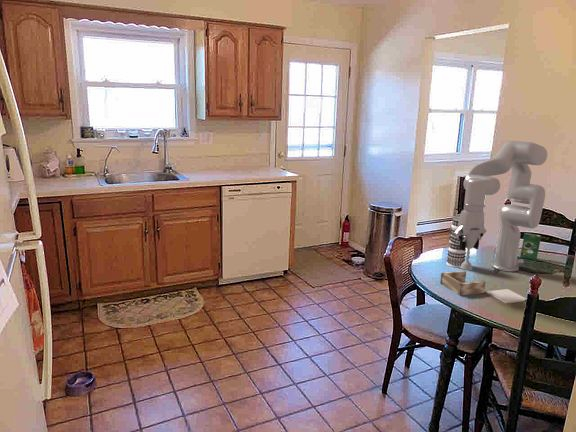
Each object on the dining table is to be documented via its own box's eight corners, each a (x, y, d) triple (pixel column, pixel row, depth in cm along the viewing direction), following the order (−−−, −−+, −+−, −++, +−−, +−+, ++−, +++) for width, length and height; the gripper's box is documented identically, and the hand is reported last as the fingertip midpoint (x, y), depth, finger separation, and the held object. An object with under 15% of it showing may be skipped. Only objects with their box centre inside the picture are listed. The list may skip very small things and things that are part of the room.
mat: (507, 290, 194) (507, 288, 193) (527, 300, 183) (527, 299, 183) (486, 292, 190) (486, 291, 190) (505, 303, 180) (506, 302, 180)
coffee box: (537, 258, 236) (541, 234, 233) (537, 260, 234) (541, 236, 231) (520, 255, 240) (524, 232, 237) (519, 257, 238) (523, 233, 235)
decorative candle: (460, 261, 228) (466, 214, 222) (468, 268, 219) (474, 218, 213) (442, 261, 228) (448, 213, 222) (449, 267, 219) (455, 218, 213)
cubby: (463, 280, 203) (464, 270, 201) (484, 292, 190) (485, 281, 189) (440, 283, 199) (441, 272, 198) (459, 295, 187) (461, 284, 185)
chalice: (455, 264, 196) (459, 225, 192) (470, 264, 197) (474, 225, 192) (462, 270, 189) (467, 230, 185) (478, 270, 190) (483, 229, 185)
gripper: (484, 204, 192) (479, 244, 197) (450, 207, 187) (445, 248, 192) (496, 208, 185) (491, 250, 190) (461, 211, 180) (457, 253, 185)
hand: (468, 248), depth 191 cm, fingers closed on chalice, 5 cm apart
